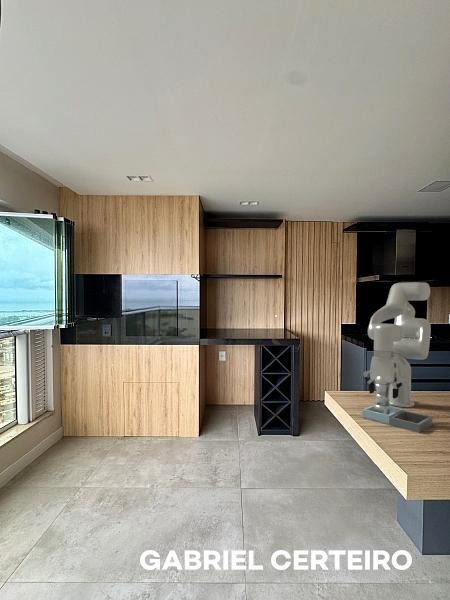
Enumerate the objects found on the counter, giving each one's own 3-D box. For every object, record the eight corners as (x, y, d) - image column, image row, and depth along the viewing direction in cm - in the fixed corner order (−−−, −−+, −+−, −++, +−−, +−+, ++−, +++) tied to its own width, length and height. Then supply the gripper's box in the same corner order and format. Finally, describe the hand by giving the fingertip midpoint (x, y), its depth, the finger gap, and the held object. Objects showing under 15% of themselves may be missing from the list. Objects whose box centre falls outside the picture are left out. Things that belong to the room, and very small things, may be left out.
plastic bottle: (389, 414, 149) (390, 367, 150) (391, 419, 143) (392, 370, 143) (373, 412, 152) (373, 366, 152) (374, 417, 145) (374, 369, 145)
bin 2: (403, 417, 148) (403, 410, 148) (432, 424, 139) (432, 416, 139) (389, 424, 138) (389, 417, 138) (419, 432, 130) (419, 424, 130)
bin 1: (377, 411, 156) (377, 403, 156) (403, 417, 148) (403, 409, 148) (362, 417, 146) (362, 409, 146) (389, 424, 138) (389, 416, 138)
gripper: (408, 356, 143) (408, 398, 143) (367, 351, 156) (367, 390, 156) (401, 358, 138) (401, 401, 138) (359, 352, 151) (359, 392, 151)
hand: (383, 395), depth 147 cm, fingers open, 9 cm apart
